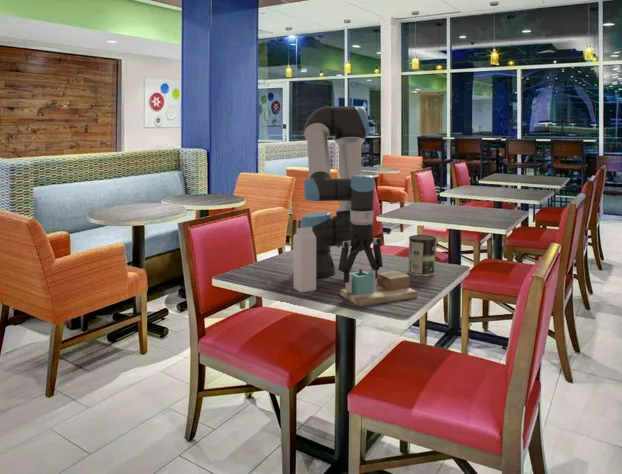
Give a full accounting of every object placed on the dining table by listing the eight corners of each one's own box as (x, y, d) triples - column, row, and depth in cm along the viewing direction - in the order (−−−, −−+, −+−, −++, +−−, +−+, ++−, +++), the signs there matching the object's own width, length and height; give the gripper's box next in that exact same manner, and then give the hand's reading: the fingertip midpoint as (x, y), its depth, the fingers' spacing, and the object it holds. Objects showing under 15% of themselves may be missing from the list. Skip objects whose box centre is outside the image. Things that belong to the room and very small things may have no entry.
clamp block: (376, 284, 189) (377, 273, 188) (396, 281, 193) (396, 270, 192) (389, 290, 182) (390, 279, 181) (409, 287, 186) (409, 276, 185)
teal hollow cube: (348, 290, 183) (348, 272, 182) (363, 287, 185) (364, 270, 184) (357, 295, 178) (358, 277, 176) (373, 292, 180) (373, 275, 179)
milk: (293, 288, 192) (292, 226, 188) (308, 285, 195) (308, 225, 191) (301, 292, 187) (300, 229, 183) (316, 290, 190) (316, 227, 185)
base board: (340, 295, 184) (340, 267, 182) (395, 286, 194) (395, 260, 192) (360, 306, 173) (360, 277, 171) (417, 297, 182) (418, 269, 180)
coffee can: (434, 270, 216) (436, 235, 213) (434, 277, 206) (436, 240, 203) (408, 268, 218) (409, 234, 215) (407, 275, 208) (408, 239, 205)
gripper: (338, 227, 169) (337, 297, 174) (395, 222, 178) (393, 288, 183) (327, 223, 176) (327, 290, 181) (382, 218, 185) (380, 283, 190)
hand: (360, 289), depth 182 cm, fingers open, 8 cm apart
